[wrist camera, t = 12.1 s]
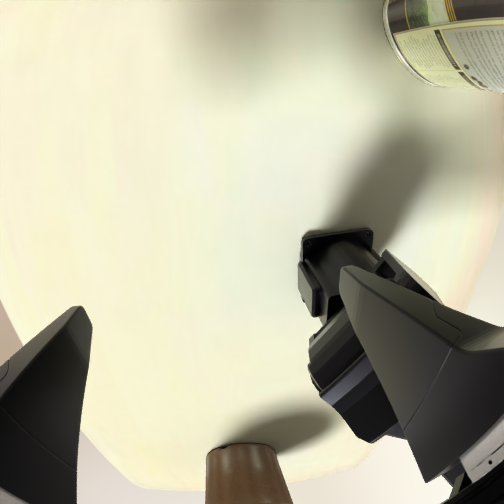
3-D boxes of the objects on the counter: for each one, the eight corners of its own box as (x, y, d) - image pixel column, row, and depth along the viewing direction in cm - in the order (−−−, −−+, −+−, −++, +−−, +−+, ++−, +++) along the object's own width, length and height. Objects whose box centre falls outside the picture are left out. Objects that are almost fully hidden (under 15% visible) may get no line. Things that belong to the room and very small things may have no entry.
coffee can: (363, -17, 14) (489, -72, 2) (445, -9, 13) (557, -22, 1) (401, 94, 19) (551, 118, 6) (473, 85, 18) (591, 110, 6)
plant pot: (194, 436, 37) (200, 532, 23) (296, 432, 40) (321, 518, 26) (193, 469, 44) (199, 540, 30) (274, 466, 47) (290, 532, 33)
